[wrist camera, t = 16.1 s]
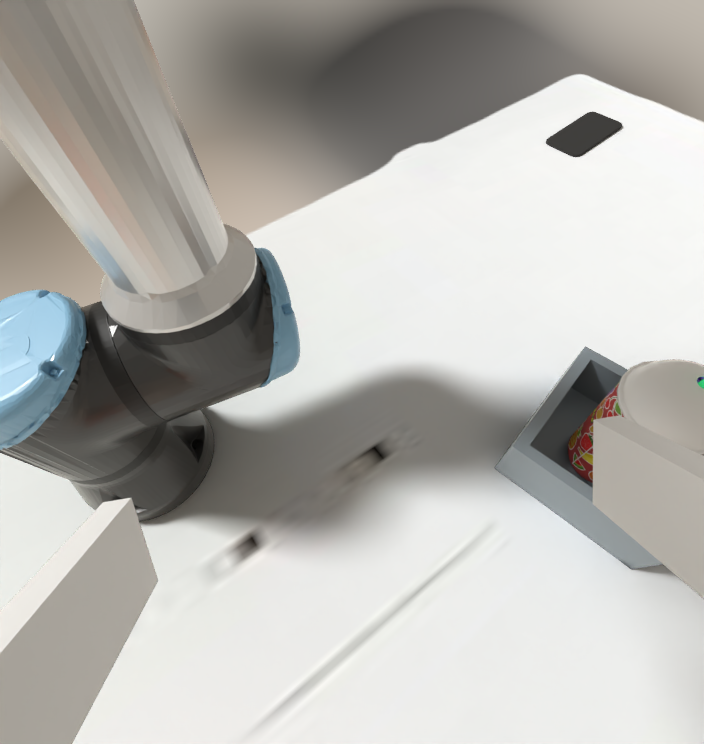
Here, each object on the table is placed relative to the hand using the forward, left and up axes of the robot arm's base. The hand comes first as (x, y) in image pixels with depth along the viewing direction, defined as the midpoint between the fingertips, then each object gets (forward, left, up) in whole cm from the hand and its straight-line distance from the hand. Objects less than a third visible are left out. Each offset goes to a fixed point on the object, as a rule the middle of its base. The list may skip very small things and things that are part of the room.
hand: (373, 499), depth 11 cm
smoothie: (+10, +25, -33) cm, 42 cm away
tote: (+10, +25, -33) cm, 43 cm away
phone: (-20, +85, -34) cm, 94 cm away
